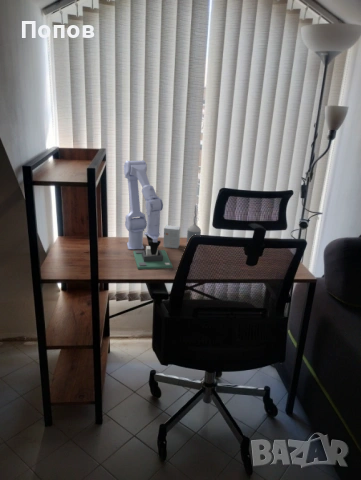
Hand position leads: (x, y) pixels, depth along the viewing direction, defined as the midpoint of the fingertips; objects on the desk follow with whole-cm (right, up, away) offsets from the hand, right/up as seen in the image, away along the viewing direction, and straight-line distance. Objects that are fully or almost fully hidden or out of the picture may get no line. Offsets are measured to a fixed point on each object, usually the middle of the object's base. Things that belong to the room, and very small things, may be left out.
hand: (152, 251), depth 187 cm
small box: (+9, +2, +21) cm, 23 cm away
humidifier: (+19, -1, +14) cm, 24 cm away
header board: (0, -4, +1) cm, 4 cm away
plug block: (-1, -3, +1) cm, 3 cm away
